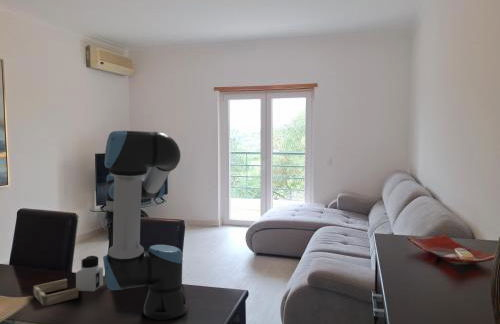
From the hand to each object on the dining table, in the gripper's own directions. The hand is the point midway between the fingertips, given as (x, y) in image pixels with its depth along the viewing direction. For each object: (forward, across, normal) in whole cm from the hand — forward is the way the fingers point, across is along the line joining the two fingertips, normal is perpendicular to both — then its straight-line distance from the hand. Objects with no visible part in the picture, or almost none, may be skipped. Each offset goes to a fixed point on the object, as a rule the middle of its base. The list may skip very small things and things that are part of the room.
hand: (115, 263), depth 160 cm
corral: (+8, -1, +24) cm, 25 cm away
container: (+8, -1, +11) cm, 14 cm away
